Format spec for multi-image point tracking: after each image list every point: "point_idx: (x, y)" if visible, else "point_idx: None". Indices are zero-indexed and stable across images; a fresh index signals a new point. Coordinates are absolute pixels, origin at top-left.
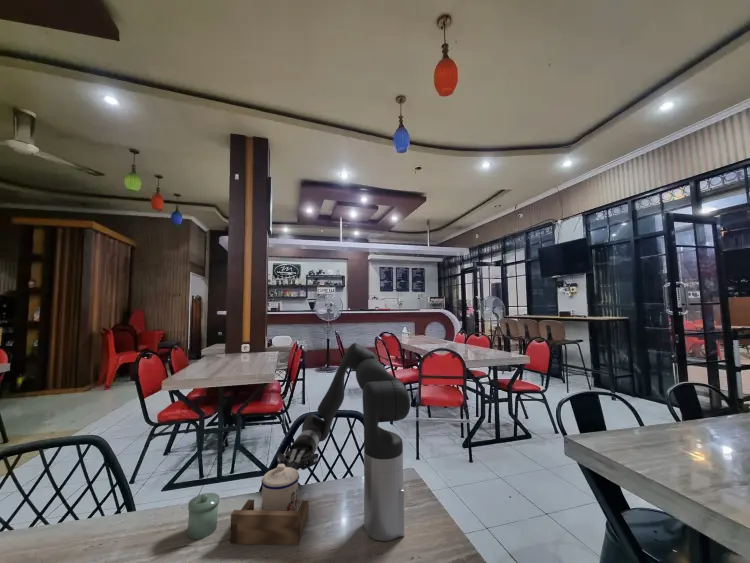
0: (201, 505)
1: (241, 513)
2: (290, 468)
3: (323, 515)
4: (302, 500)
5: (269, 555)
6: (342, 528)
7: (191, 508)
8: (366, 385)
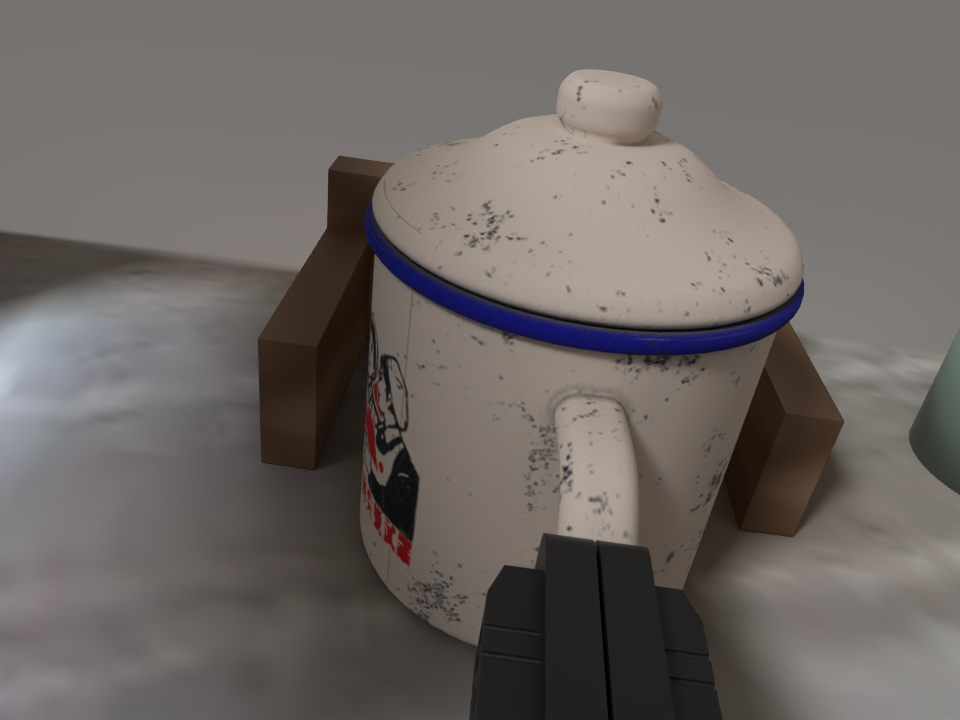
0: None
1: None
2: (506, 217)
3: (119, 469)
4: (316, 345)
5: None
6: (17, 354)
7: None
8: None
